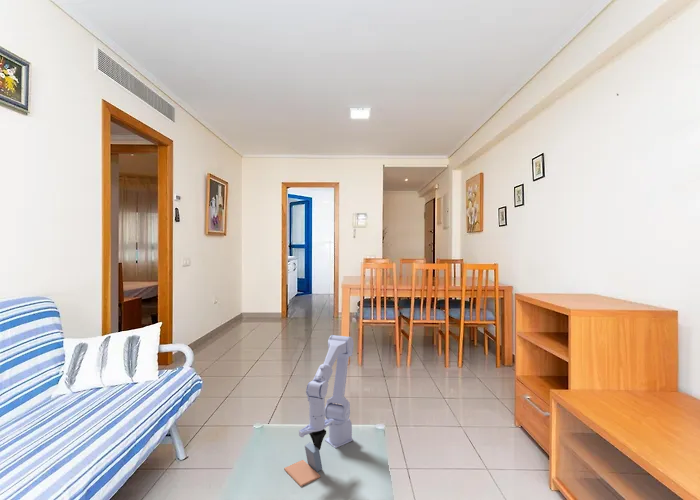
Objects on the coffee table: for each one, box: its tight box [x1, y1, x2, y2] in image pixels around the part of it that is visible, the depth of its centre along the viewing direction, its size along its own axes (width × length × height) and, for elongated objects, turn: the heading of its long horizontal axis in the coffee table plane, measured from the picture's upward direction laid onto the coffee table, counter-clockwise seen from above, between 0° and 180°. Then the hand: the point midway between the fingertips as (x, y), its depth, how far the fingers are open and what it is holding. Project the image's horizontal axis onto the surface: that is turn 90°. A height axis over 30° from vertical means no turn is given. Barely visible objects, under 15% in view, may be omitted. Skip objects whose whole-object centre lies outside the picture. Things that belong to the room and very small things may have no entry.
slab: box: [304, 441, 323, 473], centre depth 134 cm, size 2×6×8 cm, turn 38°
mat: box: [283, 459, 321, 487], centre depth 131 cm, size 8×12×1 cm, turn 38°
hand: (317, 449), depth 135 cm, fingers closed
